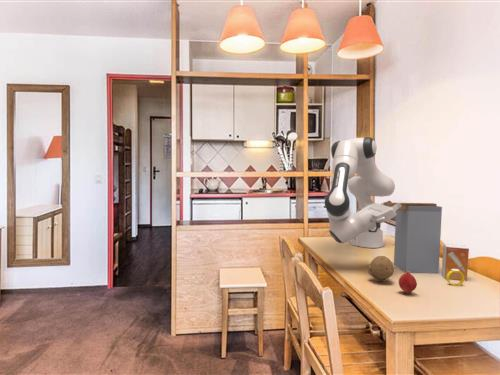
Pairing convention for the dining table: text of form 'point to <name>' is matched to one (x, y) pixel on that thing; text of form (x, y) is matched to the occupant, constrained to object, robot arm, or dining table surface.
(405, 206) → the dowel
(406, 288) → the red rounded lump
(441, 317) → the dining table surface
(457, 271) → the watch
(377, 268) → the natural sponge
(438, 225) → the stand
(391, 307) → the dining table surface
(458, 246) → the small box
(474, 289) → the dining table surface
